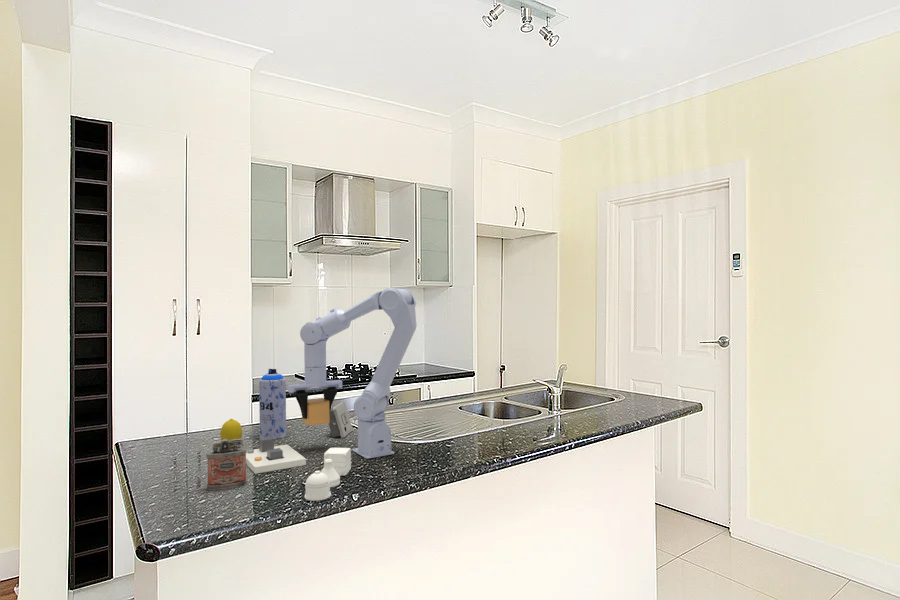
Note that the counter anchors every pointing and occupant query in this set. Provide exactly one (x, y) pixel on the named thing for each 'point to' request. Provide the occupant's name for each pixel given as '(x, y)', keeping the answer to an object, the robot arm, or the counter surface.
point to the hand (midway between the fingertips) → (315, 416)
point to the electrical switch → (339, 421)
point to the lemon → (231, 430)
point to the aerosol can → (272, 405)
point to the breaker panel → (261, 464)
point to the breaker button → (274, 454)
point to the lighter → (226, 465)
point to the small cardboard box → (317, 412)
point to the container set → (328, 474)
